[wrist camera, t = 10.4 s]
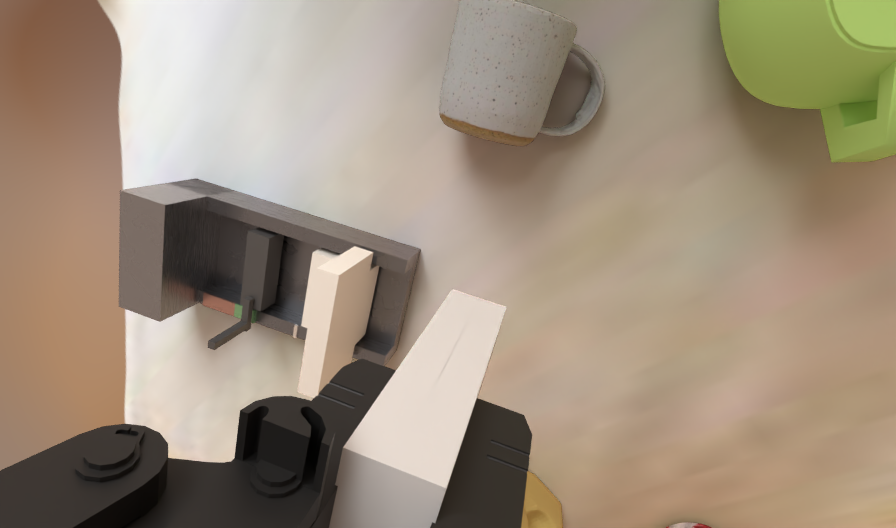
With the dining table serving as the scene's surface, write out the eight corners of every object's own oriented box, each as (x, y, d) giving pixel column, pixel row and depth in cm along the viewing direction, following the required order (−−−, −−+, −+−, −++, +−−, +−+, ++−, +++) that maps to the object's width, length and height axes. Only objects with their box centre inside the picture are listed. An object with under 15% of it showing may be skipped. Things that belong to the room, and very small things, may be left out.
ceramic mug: (446, 122, 37) (419, 123, 30) (473, 7, 35) (450, -22, 27) (580, 158, 36) (585, 168, 29) (619, 41, 33) (636, 20, 26)
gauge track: (420, 249, 41) (387, 277, 33) (396, 350, 44) (361, 396, 37) (196, 178, 44) (120, 190, 36) (189, 277, 47) (118, 306, 40)
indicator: (284, 232, 41) (231, 252, 35) (272, 321, 44) (222, 355, 38) (263, 225, 41) (207, 244, 35) (253, 314, 44) (200, 346, 38)
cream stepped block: (383, 245, 39) (339, 275, 32) (362, 349, 43) (316, 399, 35) (328, 227, 40) (271, 253, 32) (311, 331, 43) (256, 376, 36)
